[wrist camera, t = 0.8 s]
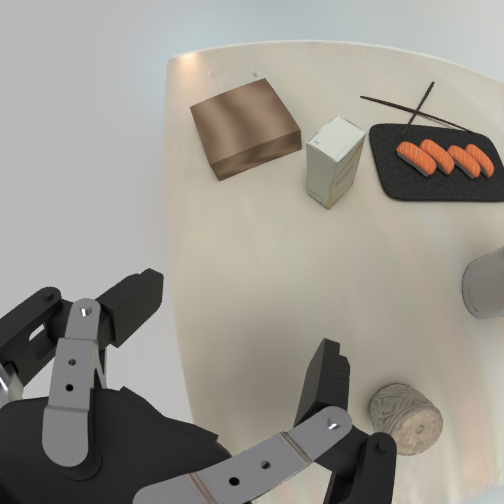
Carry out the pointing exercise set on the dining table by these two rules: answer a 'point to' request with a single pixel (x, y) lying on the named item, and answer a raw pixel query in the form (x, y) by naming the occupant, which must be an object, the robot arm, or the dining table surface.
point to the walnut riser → (245, 128)
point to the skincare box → (333, 159)
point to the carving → (406, 418)
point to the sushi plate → (436, 161)
